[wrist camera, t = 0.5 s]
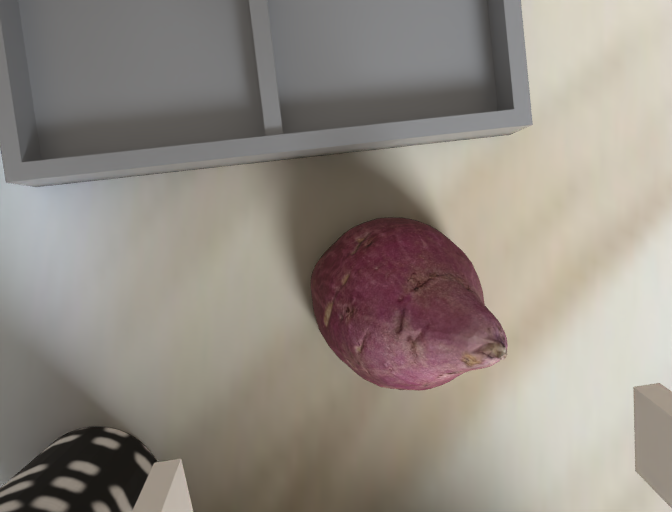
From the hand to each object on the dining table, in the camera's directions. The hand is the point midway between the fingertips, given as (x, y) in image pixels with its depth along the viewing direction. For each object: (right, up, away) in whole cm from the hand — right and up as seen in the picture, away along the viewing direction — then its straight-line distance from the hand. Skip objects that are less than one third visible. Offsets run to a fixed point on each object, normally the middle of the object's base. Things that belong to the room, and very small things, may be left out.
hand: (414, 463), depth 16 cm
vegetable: (+1, +3, +20) cm, 21 cm away
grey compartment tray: (-7, +19, +19) cm, 28 cm away
